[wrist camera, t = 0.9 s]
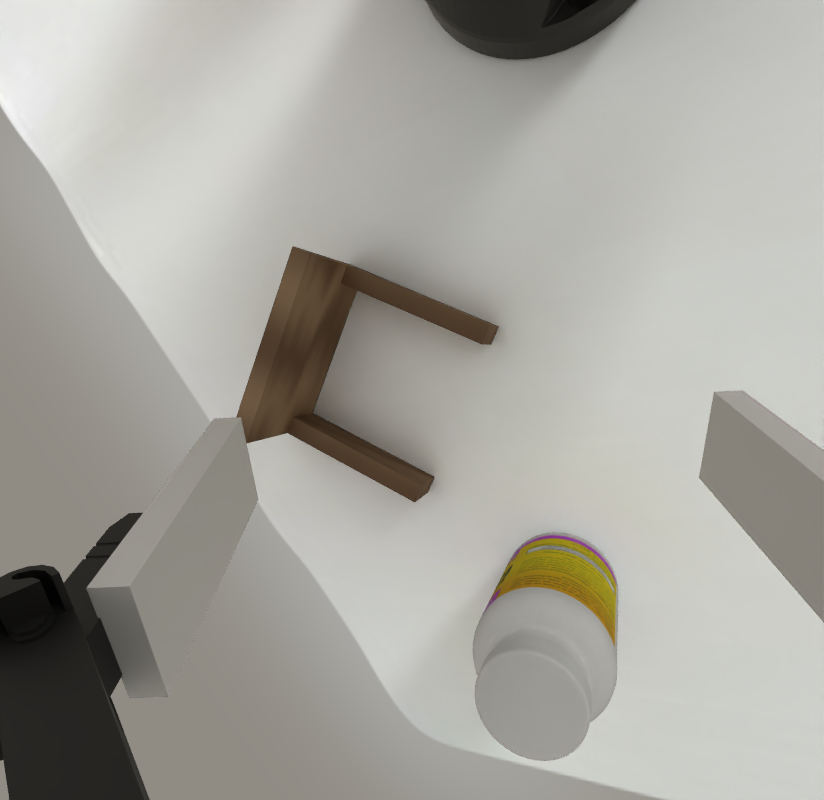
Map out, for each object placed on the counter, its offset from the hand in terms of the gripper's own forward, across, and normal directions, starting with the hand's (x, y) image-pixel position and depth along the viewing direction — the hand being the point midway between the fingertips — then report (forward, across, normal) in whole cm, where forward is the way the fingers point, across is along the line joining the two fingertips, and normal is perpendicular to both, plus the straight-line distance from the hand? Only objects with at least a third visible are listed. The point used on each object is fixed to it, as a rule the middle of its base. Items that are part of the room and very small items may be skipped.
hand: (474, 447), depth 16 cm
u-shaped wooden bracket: (+21, -3, -6) cm, 22 cm away
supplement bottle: (+13, +6, -17) cm, 23 cm away
